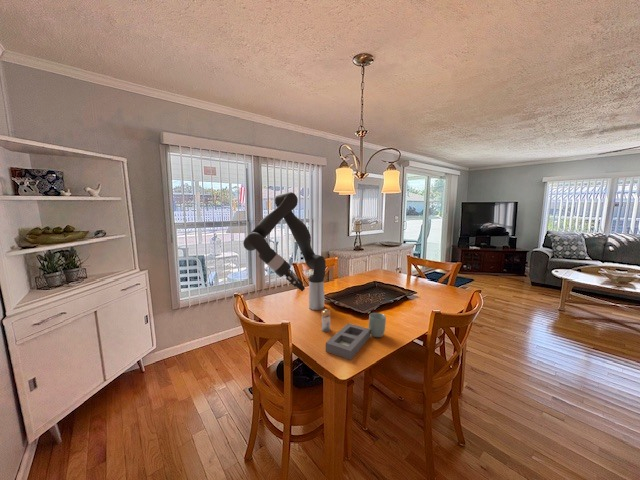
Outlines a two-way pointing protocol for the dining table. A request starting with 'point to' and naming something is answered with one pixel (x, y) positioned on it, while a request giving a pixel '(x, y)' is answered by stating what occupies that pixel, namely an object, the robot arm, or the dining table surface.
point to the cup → (377, 324)
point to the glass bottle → (325, 320)
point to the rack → (348, 341)
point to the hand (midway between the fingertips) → (302, 287)
